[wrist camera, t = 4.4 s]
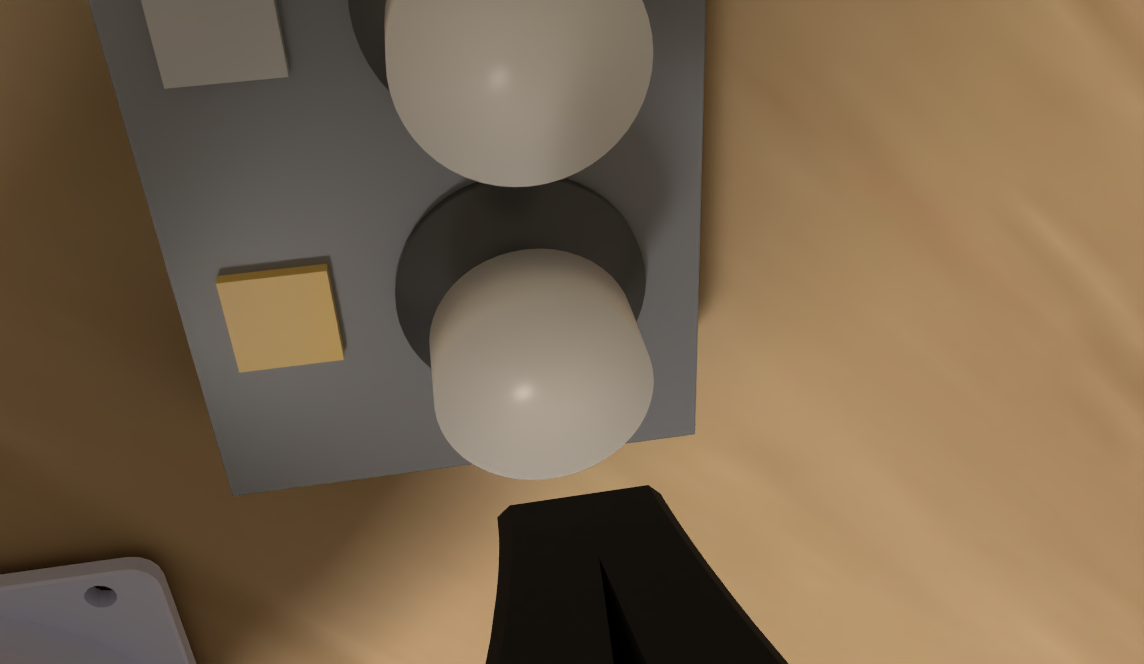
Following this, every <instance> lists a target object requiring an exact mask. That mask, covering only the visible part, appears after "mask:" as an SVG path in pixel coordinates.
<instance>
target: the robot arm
mask: <svg viewBox="0 0 1144 664" xmlns="http://www.w3.org/2000/svg"><path fill="white" fill-rule="evenodd" d="M497 518H498V529H499V572H498V584H497V595H496V603H495V610H494V617H493V625H492V632H491V639H490V644H489V649H488V655H487V660H486V664H788V663H787V661H786V660H785V659H784V658H783V657H782V656H781V654H780V653H779V652H778V651H777V650H776V648H775V647H774V646H773V645H772V644H771V643H770V641H769V640H768V639H767V638H766V637H765V636H764V634H763V633H762V632H761V631H760V630H759V628H758V627H757V626H756V625H755V624H754V622H753V621H752V620H751V619H750V617H749V616H748V615H747V614H746V612H745V611H744V610H743V609H742V607H741V606H740V605H739V604H738V602H737V601H736V600H735V599H734V597H733V596H732V595H731V593H730V592H729V591H728V590H727V588H726V587H725V586H724V584H723V583H722V582H721V580H720V579H719V578H718V576H717V575H716V574H715V572H714V571H713V570H712V569H711V567H710V566H709V565H708V563H707V562H706V560H705V559H704V558H703V556H702V555H701V554H700V552H699V551H698V549H697V548H696V547H695V545H694V544H693V542H692V541H691V540H690V538H689V537H688V535H687V534H686V532H685V531H684V530H683V528H682V527H681V525H680V524H679V522H678V521H677V519H676V518H675V516H674V514H673V513H672V511H671V510H670V508H669V507H668V505H667V504H666V502H665V500H664V499H663V497H662V495H661V494H660V493H659V492H657V491H656V490H654V489H653V488H652V487H650V486H649V485H646V486H639V487H632V488H626V489H619V490H612V491H605V492H598V493H592V494H585V495H578V496H571V497H564V498H558V499H551V500H544V501H537V502H530V503H524V504H517V505H510V506H509V507H508V508H507V509H506V510H505V511H504V512H503V513H502V514H501V515H500V516H499V517H497ZM94 586H106V587H109V588H111V589H113V590H100V589H97V588H95V587H94ZM0 664H196V661H195V658H194V656H193V653H192V650H191V647H190V645H189V642H188V639H187V636H186V633H185V631H184V628H183V625H182V622H181V619H180V617H179V614H178V611H177V608H176V605H175V603H174V600H173V597H172V594H171V591H170V589H169V586H168V583H167V580H166V577H165V575H164V573H163V571H162V570H161V568H160V567H159V566H158V565H157V564H155V563H154V562H152V561H151V560H148V559H144V558H141V557H123V558H116V559H109V560H102V561H94V562H87V563H80V564H73V565H66V566H58V567H51V568H44V569H37V570H29V571H22V572H15V573H8V574H1V575H0Z"/></svg>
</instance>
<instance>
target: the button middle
mask: <svg viewBox="0 0 1144 664" xmlns="http://www.w3.org/2000/svg"><path fill="white" fill-rule="evenodd" d="M384 29H385V60H386V73H387V81H388V85H389V90H390V95H391V97H392V100H393V103H394V106H395V108H396V111H397V113H398V115H399V117H400V119H401V121H402V122H403V124H404V126H405V127H406V129H407V130H408V132H409V133H410V135H411V136H412V137H413V139H414V140H415V141H416V142H417V143H418V144H419V145H420V147H421V148H422V149H423V150H424V151H425V152H426V153H428V154H429V155H430V156H431V157H432V158H434V159H435V160H436V161H437V162H439V163H440V164H442V165H443V166H445V167H446V168H448V169H450V170H451V171H453V172H455V173H457V174H459V175H462V176H464V177H466V178H469V179H472V180H475V181H478V182H481V183H485V184H490V185H495V186H505V187H528V186H536V185H542V184H547V183H551V182H554V181H557V180H561V179H564V178H566V177H568V176H571V175H573V174H575V173H578V172H579V171H581V170H583V169H585V168H586V167H588V166H590V165H592V164H593V163H594V162H596V161H597V160H598V159H600V158H601V157H602V156H604V155H605V154H606V153H607V152H608V151H609V150H610V149H611V148H612V147H613V146H615V145H616V144H617V143H618V141H619V140H620V139H621V138H622V136H623V135H624V134H625V133H626V132H627V130H628V129H629V127H630V126H631V124H632V123H633V121H634V120H635V118H636V116H637V114H638V112H639V110H640V108H641V106H642V104H643V102H644V99H645V96H646V93H647V90H648V87H649V83H650V78H651V73H652V65H653V39H652V32H651V27H650V22H649V17H648V15H647V12H646V9H645V6H644V3H643V1H642V0H386V4H385V18H384Z"/></svg>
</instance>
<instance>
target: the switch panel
mask: <svg viewBox="0 0 1144 664" xmlns="http://www.w3.org/2000/svg"><path fill="white" fill-rule="evenodd" d="M642 1H643V3H644V6H645V9H646V12H647V15H648V17H649V22H650V27H651V32H652V39H653V65H652V73H651V78H650V83H649V87H648V90H647V93H646V96H645V99H644V102H643V104H642V106H641V108H640V110H639V112H638V114H637V116H636V118H635V120H634V121H633V123H632V124H631V126H630V127H629V129H628V130H627V132H626V133H625V134H624V135H623V136H622V138H621V139H620V140H619V141H618V143H617V144H616V145H615V146H613V147H612V148H611V149H610V150H609V151H608V152H607V153H606V154H605V155H604V156H602V157H601V158H600V159H598V160H597V161H596V162H594V163H593V164H592V165H590V166H588V167H586V168H585V169H583V170H581V171H579V172H578V173H575V174H573V175H571V176H568V177H566V178H564V179H561V180H557V181H554V182H551V183H547V184H542V185H536V186H528V187H505V186H495V185H490V184H485V183H481V182H478V181H475V180H472V179H469V178H466V177H464V176H462V175H459V174H457V173H455V172H453V171H451V170H450V169H448V168H446V167H445V166H443V165H442V164H440V163H439V162H437V161H436V160H435V159H434V158H432V157H431V156H430V155H429V154H428V153H426V152H425V151H424V150H423V149H422V148H421V147H420V145H419V144H418V143H417V142H416V141H415V140H414V139H413V137H412V136H411V135H410V133H409V132H408V130H407V129H406V127H405V126H404V124H403V122H402V121H401V119H400V117H399V115H398V113H397V111H396V108H395V106H394V103H393V100H392V97H391V95H390V90H389V85H388V81H387V73H386V60H385V29H384V18H385V4H386V0H88V2H89V5H90V9H91V12H92V15H93V19H94V22H95V26H96V29H97V33H98V36H99V39H100V43H101V46H102V50H103V53H104V57H105V60H106V63H107V67H108V70H109V74H110V77H111V81H112V84H113V87H114V91H115V94H116V98H117V101H118V105H119V108H120V111H121V115H122V118H123V122H124V125H125V129H126V132H127V135H128V139H129V142H130V146H131V149H132V153H133V156H134V159H135V163H136V166H137V170H138V173H139V177H140V180H141V183H142V187H143V190H144V194H145V197H146V201H147V204H148V207H149V211H150V214H151V218H152V221H153V225H154V228H155V231H156V235H157V238H158V242H159V245H160V249H161V252H162V255H163V259H164V262H165V266H166V269H167V273H168V276H169V279H170V283H171V286H172V290H173V293H174V297H175V300H176V303H177V307H178V310H179V314H180V317H181V321H182V324H183V327H184V331H185V334H186V338H187V341H188V345H189V348H190V351H191V355H192V358H193V362H194V365H195V369H196V372H197V375H198V379H199V382H200V386H201V389H202V393H203V396H204V399H205V403H206V406H207V410H208V413H209V417H210V420H211V424H212V427H213V430H214V434H215V437H216V441H217V444H218V448H219V451H220V454H221V458H222V461H223V465H224V468H225V472H226V475H227V478H228V482H229V485H230V489H231V492H232V496H239V495H246V494H253V493H261V492H268V491H276V490H283V489H291V488H298V487H306V486H313V485H320V484H328V483H335V482H343V481H350V480H358V479H365V478H373V477H380V476H388V475H395V474H402V473H410V472H417V471H425V470H432V469H440V468H447V467H455V466H462V465H469V464H472V463H470V462H469V461H467V460H466V459H464V458H463V457H462V456H461V455H460V454H459V453H458V452H457V451H455V449H454V448H453V447H452V446H451V445H450V444H449V442H448V441H447V439H446V438H445V436H444V435H443V433H442V431H441V429H440V426H439V424H438V421H437V418H436V413H435V409H434V396H433V384H432V372H431V359H430V345H429V337H430V328H431V324H432V320H433V317H434V315H435V312H436V310H437V307H438V305H439V304H440V302H441V300H442V299H443V297H444V295H445V294H446V293H447V292H448V290H449V289H450V288H451V287H452V285H454V284H455V283H456V282H457V281H458V280H459V279H460V278H461V277H462V276H463V275H464V274H466V273H467V272H469V271H470V270H471V269H473V268H474V267H476V266H478V265H479V264H481V263H483V262H485V261H487V260H489V259H492V258H494V257H496V256H499V255H502V254H506V253H509V252H513V251H519V250H525V249H554V250H560V251H565V252H569V253H572V254H576V255H579V256H581V257H583V258H586V259H588V260H590V261H592V262H594V263H595V264H597V265H598V266H600V267H601V268H603V269H604V270H605V271H606V272H607V273H609V274H610V275H611V276H612V277H613V278H614V280H615V281H616V282H617V283H618V284H619V285H620V287H621V289H622V290H623V292H624V293H625V295H626V298H627V300H628V302H629V305H630V307H631V310H632V312H633V315H634V318H635V320H636V323H637V325H638V328H639V331H640V333H641V336H642V339H643V341H644V344H645V346H646V349H647V352H648V354H649V357H650V360H651V364H652V368H653V378H654V385H653V394H652V399H651V403H650V406H649V408H648V411H647V414H646V416H645V418H644V419H643V421H642V423H641V425H640V426H639V428H638V429H637V430H636V432H635V433H634V434H633V436H632V437H631V438H630V439H629V440H628V441H627V442H626V443H633V442H641V441H648V440H656V439H663V438H671V437H678V436H685V435H693V434H695V411H696V372H697V333H698V295H699V256H700V217H701V179H702V140H703V101H704V62H705V24H706V0H642ZM626 443H625V444H626Z"/></svg>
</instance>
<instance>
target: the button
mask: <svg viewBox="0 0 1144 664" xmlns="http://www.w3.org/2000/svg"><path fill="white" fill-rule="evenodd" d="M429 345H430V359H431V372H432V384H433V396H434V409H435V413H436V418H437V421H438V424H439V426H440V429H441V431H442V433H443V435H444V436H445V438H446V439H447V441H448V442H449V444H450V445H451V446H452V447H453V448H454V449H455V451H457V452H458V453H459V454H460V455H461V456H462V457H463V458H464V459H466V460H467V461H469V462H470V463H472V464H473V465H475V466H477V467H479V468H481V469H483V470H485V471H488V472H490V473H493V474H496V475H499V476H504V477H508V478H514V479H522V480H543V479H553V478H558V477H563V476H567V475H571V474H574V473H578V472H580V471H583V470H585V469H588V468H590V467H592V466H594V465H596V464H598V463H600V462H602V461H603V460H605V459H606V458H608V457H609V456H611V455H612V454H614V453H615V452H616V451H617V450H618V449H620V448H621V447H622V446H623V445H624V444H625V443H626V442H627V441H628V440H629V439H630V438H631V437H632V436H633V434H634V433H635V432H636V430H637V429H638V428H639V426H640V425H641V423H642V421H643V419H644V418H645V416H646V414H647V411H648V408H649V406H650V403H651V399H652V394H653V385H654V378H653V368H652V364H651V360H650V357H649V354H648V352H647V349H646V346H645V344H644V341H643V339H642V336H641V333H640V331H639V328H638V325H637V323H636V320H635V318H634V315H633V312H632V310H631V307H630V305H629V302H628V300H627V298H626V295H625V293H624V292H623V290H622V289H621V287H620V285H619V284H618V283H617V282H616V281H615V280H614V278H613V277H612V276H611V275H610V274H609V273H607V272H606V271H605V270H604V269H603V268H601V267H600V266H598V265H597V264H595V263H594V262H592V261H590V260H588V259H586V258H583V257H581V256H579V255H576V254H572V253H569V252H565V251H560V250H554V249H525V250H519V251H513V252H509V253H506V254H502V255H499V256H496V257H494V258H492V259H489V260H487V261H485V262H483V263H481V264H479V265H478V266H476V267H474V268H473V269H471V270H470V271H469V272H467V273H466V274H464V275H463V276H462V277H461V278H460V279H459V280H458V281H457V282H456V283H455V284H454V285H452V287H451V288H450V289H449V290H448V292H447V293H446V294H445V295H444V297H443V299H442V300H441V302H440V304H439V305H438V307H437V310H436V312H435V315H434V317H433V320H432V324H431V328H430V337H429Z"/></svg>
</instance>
